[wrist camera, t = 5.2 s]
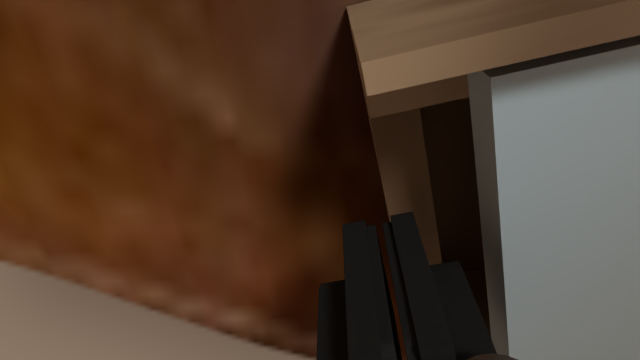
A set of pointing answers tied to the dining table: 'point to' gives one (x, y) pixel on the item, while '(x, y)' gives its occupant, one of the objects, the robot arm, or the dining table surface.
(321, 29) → the dining table surface
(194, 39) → the dining table surface
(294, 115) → the dining table surface
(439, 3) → the walnut box
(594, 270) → the cover plate
